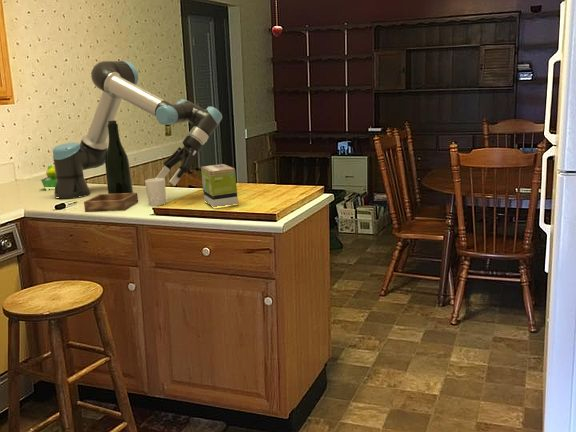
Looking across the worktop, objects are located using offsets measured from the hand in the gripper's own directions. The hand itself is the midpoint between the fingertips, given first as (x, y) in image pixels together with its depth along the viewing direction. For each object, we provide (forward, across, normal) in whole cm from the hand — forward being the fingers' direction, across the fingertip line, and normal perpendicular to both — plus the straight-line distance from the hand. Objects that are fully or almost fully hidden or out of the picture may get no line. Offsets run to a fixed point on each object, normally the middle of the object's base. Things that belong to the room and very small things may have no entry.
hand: (164, 182), depth 252 cm
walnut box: (+19, +11, +7) cm, 23 cm away
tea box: (-3, -20, -16) cm, 26 cm away
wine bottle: (+12, +32, -1) cm, 34 cm away
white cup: (+9, +1, -4) cm, 10 cm away
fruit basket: (+22, +83, +10) cm, 87 cm away
